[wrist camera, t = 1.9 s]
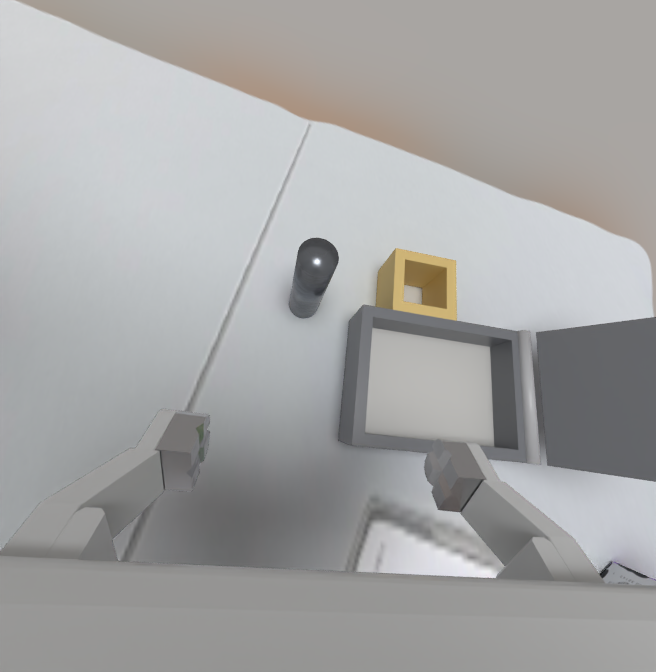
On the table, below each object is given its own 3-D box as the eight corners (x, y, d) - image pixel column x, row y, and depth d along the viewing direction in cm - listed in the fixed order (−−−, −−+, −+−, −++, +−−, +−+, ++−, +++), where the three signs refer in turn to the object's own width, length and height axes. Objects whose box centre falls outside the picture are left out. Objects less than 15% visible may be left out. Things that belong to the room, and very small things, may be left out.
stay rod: (287, 315, 31) (295, 271, 21) (291, 288, 32) (300, 234, 22) (315, 320, 31) (336, 278, 22) (319, 293, 32) (340, 242, 23)
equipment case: (338, 440, 29) (354, 446, 23) (349, 321, 32) (365, 302, 27) (497, 456, 31) (544, 465, 26) (492, 344, 34) (533, 331, 29)
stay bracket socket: (374, 325, 32) (392, 309, 28) (378, 271, 34) (395, 248, 29) (429, 334, 33) (456, 320, 29) (430, 281, 35) (455, 260, 30)
